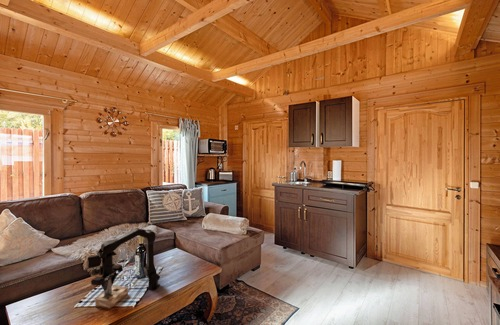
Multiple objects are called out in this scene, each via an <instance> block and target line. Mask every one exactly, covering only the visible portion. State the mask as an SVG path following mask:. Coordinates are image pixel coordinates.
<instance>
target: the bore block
mask: <svg viewBox="0 0 500 325" xmlns="http://www.w3.org/2000/svg"><path fill="white" fill-rule="evenodd" d="M128 293H129V288H128V287H126V286H118V285H112V295H111V296H109V297H104V292H103V293H102V294H100V295H99V296H98V297H96V298H95V299H94V300H95V303H94V304H95V307H97V308H103V309H109V310H110V309H111V308H113V307H114V306H116V305H117V304H118V303H119V302H120V301H122V300H123V299H124V298H125V297H127V295H128Z"/></svg>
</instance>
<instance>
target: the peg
mask: <svg viewBox="0 0 500 325" xmlns="http://www.w3.org/2000/svg"><path fill="white" fill-rule="evenodd" d="M106 279H107V280H108V285H107V289H106V291H104V290H103V293H104V297H109V296H111V295H112V287H113V285H112V278H111V277H107V278H106Z"/></svg>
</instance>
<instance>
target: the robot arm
mask: <svg viewBox="0 0 500 325" xmlns="http://www.w3.org/2000/svg"><path fill="white" fill-rule="evenodd" d="M138 236H139V237H142V238H143V239H144V242H145V247H146V249H145V250H146V265H145V266H143V274H144V275H145V276H146V277H147V278H148V286H147V287H146V289H147V290H152V291H156V290H157V289H158V288H159V287H160V286H161V284H160V283H159V280H160V278H161V276H160V274H158V273H157V268H156V266H155V260H154V259H155V258H154V256H155V255H154V252H155V251H154V244H155V240H156V236H157V235H156V233H155V232H154V231H153V230H151V229H143V228H138V227H136V228H134V229H133V230H131V231H129V232H127V233H125V234H123V235H121V236H118V237H117V238H115V239H110V240H107V241H105V242H102V244H101V245H100V248H99V249H98V251H97V253H96V254H95V255H89V256H87V257H86V258H87V259H86V262H85V263H86V268H87V270H89V269H90V270H91V269H92V270H91V272H90V273H91V275H92V276H95V277H94V278H92V280H90V285H91V286H98V287H99V286H101V287H102V290H103V292H104V291H106V289H107V285H108V280H107V279H106V278H108V277H111V278H112V286H114V282H115V280H116V278H117V277H118V276H119V273H121V272H122V271H124V270H123V266H122V265H115V263H114V256H116V255H117V252H116V250H117V249H118V248H119V246H121V245H123V244H125V243H126V242H129V241H131V240H132V239H134V238H136V237H138ZM117 272H118V273H117ZM98 275H99V276H98Z"/></svg>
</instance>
